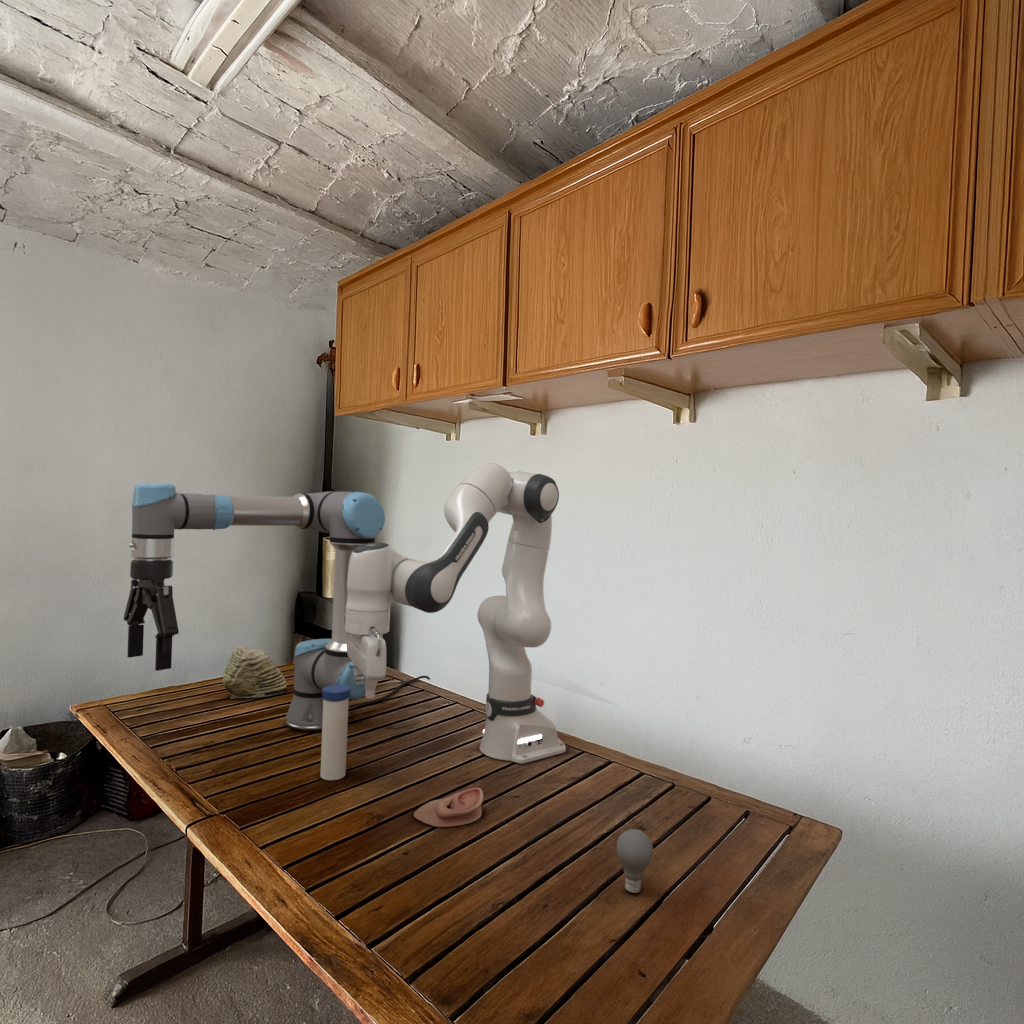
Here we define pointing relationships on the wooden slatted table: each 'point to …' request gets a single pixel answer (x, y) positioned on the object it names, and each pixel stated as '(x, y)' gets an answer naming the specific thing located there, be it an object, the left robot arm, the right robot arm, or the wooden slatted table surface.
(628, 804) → the wooden slatted table surface
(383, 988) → the wooden slatted table surface
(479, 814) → the anatomical model
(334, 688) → the lid
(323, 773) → the bottle
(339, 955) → the wooden slatted table surface
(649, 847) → the light bulb
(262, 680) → the fossil
